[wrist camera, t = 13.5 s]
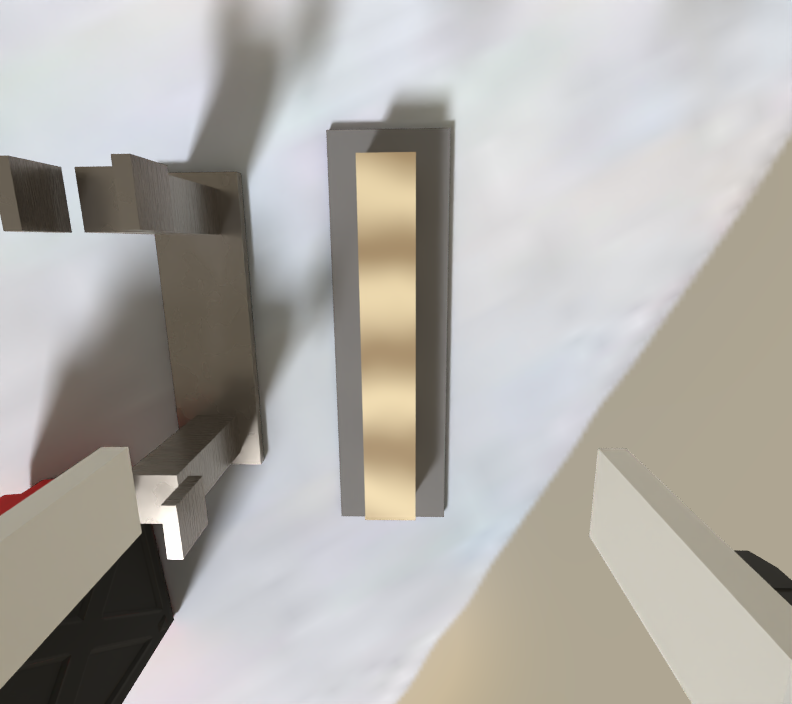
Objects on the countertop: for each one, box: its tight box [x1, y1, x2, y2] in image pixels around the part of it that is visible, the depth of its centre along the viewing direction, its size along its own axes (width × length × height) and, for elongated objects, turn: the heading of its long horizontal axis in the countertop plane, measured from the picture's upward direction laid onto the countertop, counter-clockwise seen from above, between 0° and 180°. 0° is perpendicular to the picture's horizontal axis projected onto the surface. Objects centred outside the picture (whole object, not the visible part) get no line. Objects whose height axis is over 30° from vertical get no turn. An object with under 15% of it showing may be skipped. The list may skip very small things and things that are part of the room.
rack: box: [0, 154, 264, 559], centre depth 28 cm, size 21×6×13 cm, turn 1°
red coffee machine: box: [0, 479, 174, 704], centre depth 29 cm, size 16×10×20 cm, turn 5°
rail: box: [356, 152, 416, 520], centre depth 31 cm, size 24×4×4 cm, turn 1°
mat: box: [326, 128, 450, 517], centre depth 33 cm, size 28×8×1 cm, turn 1°
